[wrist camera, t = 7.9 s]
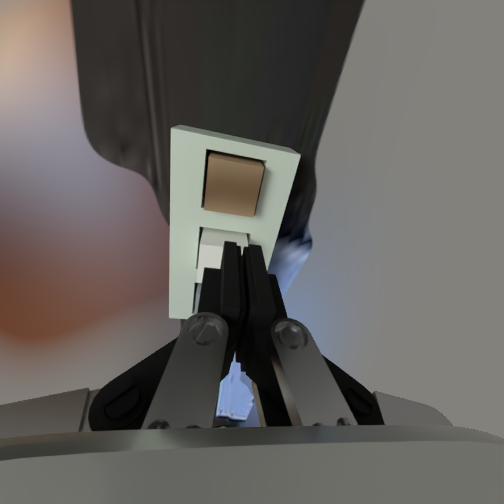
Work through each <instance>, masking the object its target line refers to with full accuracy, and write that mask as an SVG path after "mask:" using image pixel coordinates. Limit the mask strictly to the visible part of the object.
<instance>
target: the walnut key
mask: <svg viewBox="0 0 504 504" xmlns="http://www.w3.org/2000/svg"><path fill="white" fill-rule="evenodd" d="M263 170H264V167H263V165H262V163H261V162H260V160H259V159H254V158H249V157H244V156H239V155H234V154H229V153H224V152H219V151H214V150H212V151H211V153H210V155H209V161H208V172H207V182H206V193H205V204H204V210H206V211H213V212H220V213H226V214H233V215H240V216H246V217H253V216H254V212H255V207H256V203H257V198H258V193H259V189H260V184H261V180H262V175H263Z"/></svg>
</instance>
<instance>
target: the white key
mask: <svg viewBox="0 0 504 504" xmlns="http://www.w3.org/2000/svg"><path fill="white" fill-rule="evenodd" d="M224 241H230V242H237V246H241V253H243V248H244V246H245V247H248V240H247V233H242V232H235V231H227V230H220V229H213V228H206V227H203V232H202V237H201V241H200V248H199V260H198V271H197V282H198V283H202V279H203V272H204V267H207V268H217V269H220V266H221V260H222V253H223V247H224Z"/></svg>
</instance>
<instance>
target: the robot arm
mask: <svg viewBox="0 0 504 504" xmlns="http://www.w3.org/2000/svg"><path fill="white" fill-rule="evenodd" d="M235 353H236V362H237V363H241V371H244V372H246V375H247V376H248V377H249V378H250V379H251V380H252V389H253V394H254V399H255V403H256V407H257V412H258V416H259V421H260V425H261V427H235V428H211V427H212V422H213V416H214V411H215V405H216V400H217V394H218V389H219V383H220V382H221V381H222V380H223V379H224V378H225V377H226V376H227V375H228V374H229V370H230V366H231V362H232V361H233V358H234V354H235ZM0 504H504V439H503V438H501V437H498V436H495V435H492V434H489V433H486V432H482V431H479V430H475V429H469V428H463V427H455V426H453V425H452V424H451V422H450V421H449V420H448V419H447V418H446V417H445V416H444V415H443V414H442V413H440V412H439V411H438V410H436V409H435V408H433V407H431V406H428V405H425V404H422V403H418V402H414V401H410V400H406V399H403V398H399V397H396V396H392V395H388V394H384V393H381V392H377V391H374V392H373V393H370V392H369V391H368V390H367V389H366V388H365V387H364V386H363V385H361V384H360V383H359V382H357V381H356V380H355V379H353V378H352V377H351V376H349V375H348V374H347V373H346V372H344V371H343V370H342V369H340V368H339V367H338V366H336V365H335V364H334V363H332V362H331V361H329V360H328V359H327V358H326V357H324V356H323V355H322V354H321V353H320V351H319V349H318V347H317V345H316V343H315V341H314V339H313V337H312V335H311V333H310V332H309V330H308V329H307V328H306V327H305V326H304V325H303V324H302V323H300V322H299V321H297V320H294V319H291V318H288V317H287V313H286V310H285V306H284V303H283V299H282V295H281V292H280V288H279V285H278V281H277V278H276V275H273V274H268V273H267V268H266V264H265V260H264V255H263V251H262V247H261V245H254V244H249V245H248V247H245V246H244V248H243V253H241V246H237V242H230V241H224V247H223V253H222V260H221V266H220V269H217V268H207V267H204V272H203V279H202V285H201V292H200V298H199V305H198V311H197V313H196V314H194V315H192V316H190V317H189V318H188V319H187V320H186V321H185V323H184V324H183V326H182V329H181V331H180V334H179V336H178V337H177V338H176V339H174V340H173V341H171V342H170V343H168V344H167V345H165V346H164V347H162V348H161V349H159V350H157V351H156V352H155V353H153V354H151V355H150V356H148V357H147V358H145V359H144V360H142V361H141V362H139V363H138V364H136V365H135V366H133V367H132V368H130V369H129V370H127V371H126V372H124V373H123V374H121V375H119V376H118V377H116V378H115V379H113V380H112V381H110V382H109V383H108V384H107V385H105V386H104V387H103V388H101V389H96V390H91V391H90V390H89V388H84V389H79V390H74V391H69V392H63V393H59V394H53V395H49V396H44V397H39V398H34V399H28V400H23V401H18V402H13V403H8V404H4V405H0Z"/></svg>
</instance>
